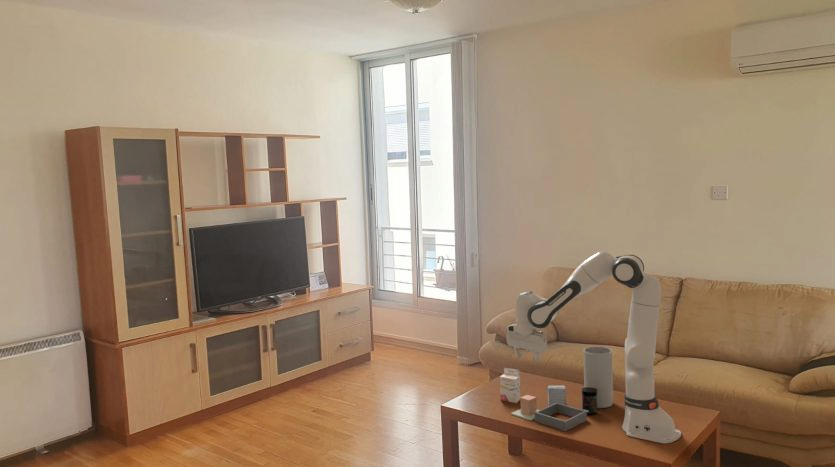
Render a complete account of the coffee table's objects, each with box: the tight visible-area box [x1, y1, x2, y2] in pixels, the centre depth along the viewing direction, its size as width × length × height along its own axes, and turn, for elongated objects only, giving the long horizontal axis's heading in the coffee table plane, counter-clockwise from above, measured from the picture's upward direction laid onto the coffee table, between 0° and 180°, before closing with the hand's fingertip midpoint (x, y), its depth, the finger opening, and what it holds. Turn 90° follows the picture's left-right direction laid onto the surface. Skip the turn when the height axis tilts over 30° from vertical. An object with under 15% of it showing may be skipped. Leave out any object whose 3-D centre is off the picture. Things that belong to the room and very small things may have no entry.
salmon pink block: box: [519, 394, 538, 416], centre depth 274 cm, size 5×5×7 cm
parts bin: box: [534, 403, 588, 432], centre depth 265 cm, size 16×16×4 cm
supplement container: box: [581, 387, 599, 416], centre depth 272 cm, size 7×7×10 cm
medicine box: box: [547, 385, 567, 406], centre depth 283 cm, size 8×4×9 cm, turn 84°
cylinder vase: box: [583, 346, 614, 409], centre depth 282 cm, size 12×12×25 cm
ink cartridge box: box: [499, 367, 521, 404], centre depth 292 cm, size 9×5×15 cm, turn 58°
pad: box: [510, 408, 540, 422], centre depth 274 cm, size 11×11×1 cm
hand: (527, 359), depth 272 cm, fingers open, 8 cm apart
